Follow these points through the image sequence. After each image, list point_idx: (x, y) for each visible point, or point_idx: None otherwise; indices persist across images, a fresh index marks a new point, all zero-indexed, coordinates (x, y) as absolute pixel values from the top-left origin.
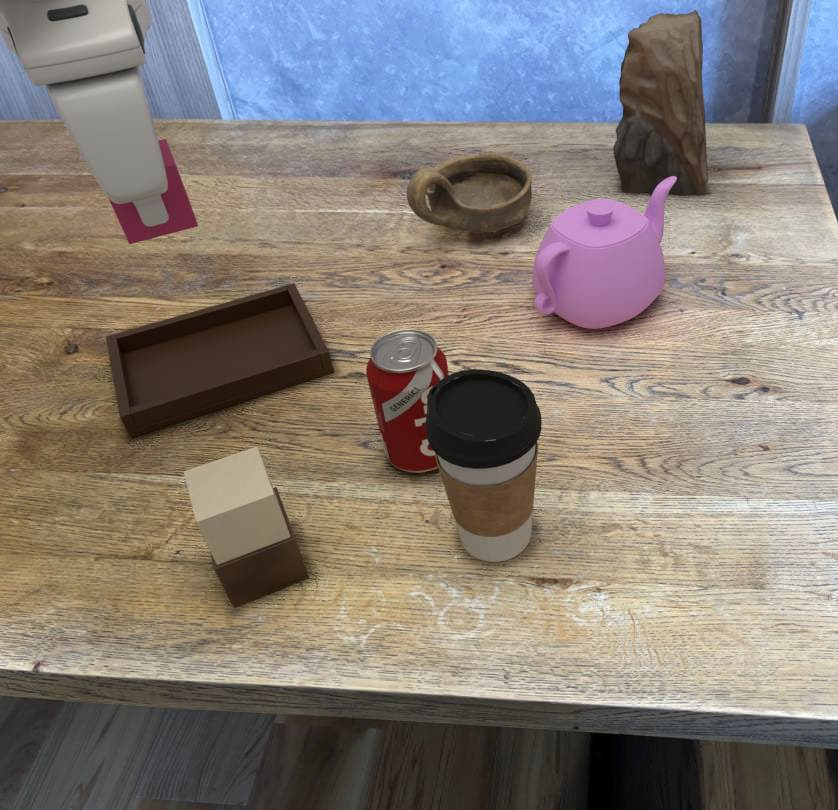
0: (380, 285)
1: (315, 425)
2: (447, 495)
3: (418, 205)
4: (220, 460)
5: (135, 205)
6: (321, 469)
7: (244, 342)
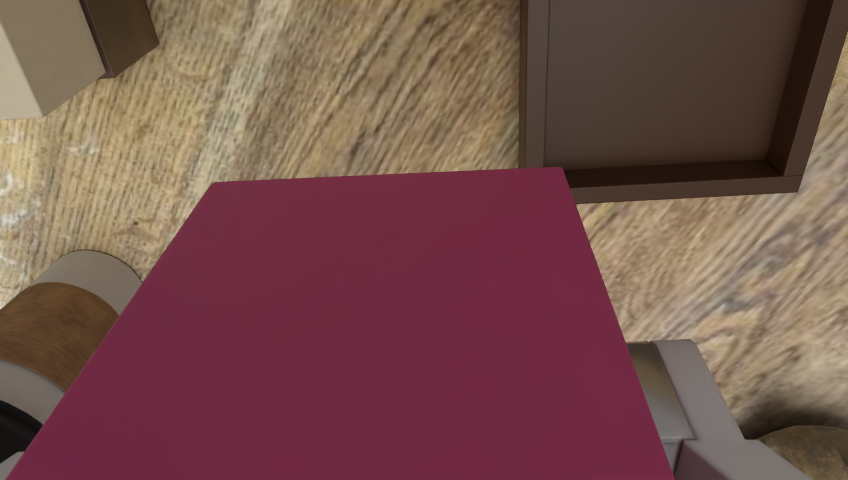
0: (720, 298)
1: (392, 125)
2: (20, 311)
3: (798, 457)
4: (1, 40)
5: (7, 460)
6: (279, 114)
7: (701, 47)
